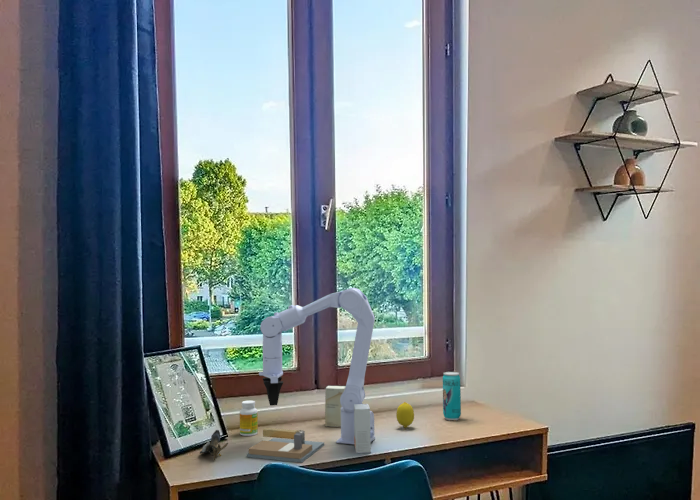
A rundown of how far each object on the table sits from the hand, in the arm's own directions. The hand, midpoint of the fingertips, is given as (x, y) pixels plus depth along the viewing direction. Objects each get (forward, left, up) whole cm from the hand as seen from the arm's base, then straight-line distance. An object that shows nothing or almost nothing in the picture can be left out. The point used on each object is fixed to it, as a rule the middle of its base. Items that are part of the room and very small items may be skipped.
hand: (272, 403), depth 181 cm
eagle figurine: (+8, +20, -11) cm, 24 cm away
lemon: (-34, -23, -11) cm, 43 cm away
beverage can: (-46, -38, -11) cm, 61 cm away
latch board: (-9, +10, -10) cm, 17 cm away
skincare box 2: (-28, +3, -11) cm, 30 cm away
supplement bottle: (+10, -3, -11) cm, 15 cm away
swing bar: (-6, +6, -9) cm, 13 cm away
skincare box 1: (-12, -20, -11) cm, 26 cm away
